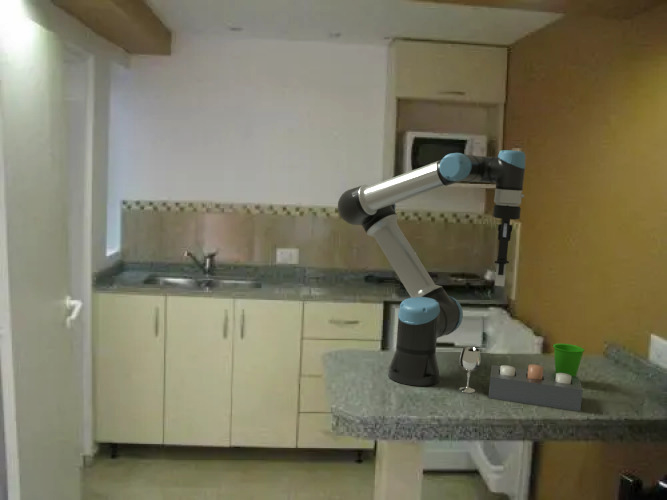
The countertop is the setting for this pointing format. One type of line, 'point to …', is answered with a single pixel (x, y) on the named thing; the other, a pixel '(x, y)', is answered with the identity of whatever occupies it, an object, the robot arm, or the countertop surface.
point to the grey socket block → (535, 389)
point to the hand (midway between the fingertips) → (499, 285)
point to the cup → (567, 358)
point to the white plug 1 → (507, 370)
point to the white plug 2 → (563, 378)
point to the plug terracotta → (535, 372)
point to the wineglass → (469, 364)
